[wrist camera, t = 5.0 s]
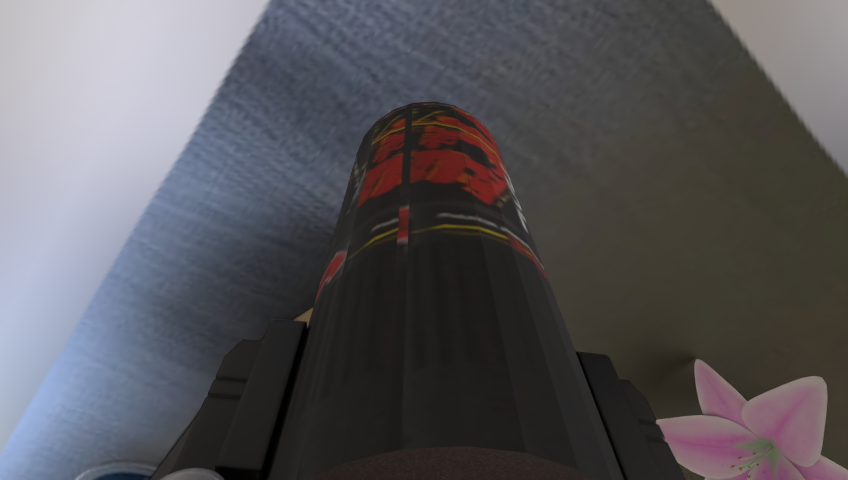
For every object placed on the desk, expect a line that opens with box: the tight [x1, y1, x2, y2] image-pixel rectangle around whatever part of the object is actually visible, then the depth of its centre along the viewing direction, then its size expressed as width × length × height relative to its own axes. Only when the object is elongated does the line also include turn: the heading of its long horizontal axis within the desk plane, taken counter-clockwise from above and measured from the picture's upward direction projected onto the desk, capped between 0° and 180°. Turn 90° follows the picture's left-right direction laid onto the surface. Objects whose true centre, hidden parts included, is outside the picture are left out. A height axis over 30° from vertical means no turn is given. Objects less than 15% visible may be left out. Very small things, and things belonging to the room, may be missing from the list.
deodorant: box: [265, 102, 624, 480], centre depth 14 cm, size 6×6×15 cm
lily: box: [656, 359, 848, 480], centre depth 31 cm, size 12×12×10 cm
